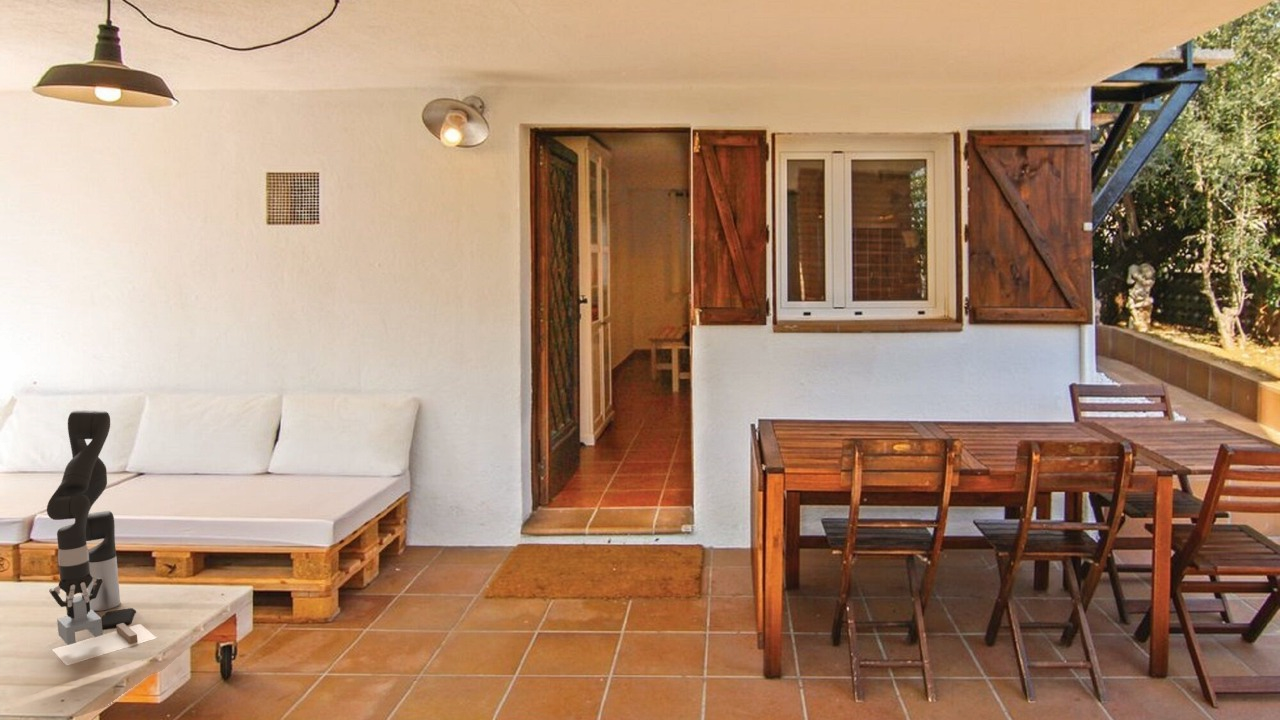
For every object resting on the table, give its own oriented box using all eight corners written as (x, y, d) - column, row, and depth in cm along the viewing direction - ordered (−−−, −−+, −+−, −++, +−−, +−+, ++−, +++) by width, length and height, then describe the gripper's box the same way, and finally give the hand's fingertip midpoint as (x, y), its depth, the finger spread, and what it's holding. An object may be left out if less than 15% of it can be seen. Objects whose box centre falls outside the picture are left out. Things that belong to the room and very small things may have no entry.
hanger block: (58, 635, 253) (55, 599, 251) (93, 625, 259) (89, 590, 258) (67, 645, 246) (64, 608, 244) (102, 634, 252) (99, 599, 251)
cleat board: (52, 654, 254) (51, 641, 254) (140, 628, 272) (139, 616, 271) (66, 670, 243) (65, 657, 243) (157, 642, 261) (156, 630, 260)
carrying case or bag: (100, 620, 280) (92, 637, 266) (99, 611, 279) (91, 628, 266) (137, 614, 284) (131, 630, 271) (136, 605, 284) (130, 621, 270)
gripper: (97, 551, 257) (101, 605, 259) (42, 563, 247) (47, 619, 249) (104, 557, 252) (109, 612, 254) (49, 570, 242) (54, 627, 244)
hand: (78, 615), depth 252 cm, fingers closed on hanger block, 3 cm apart
